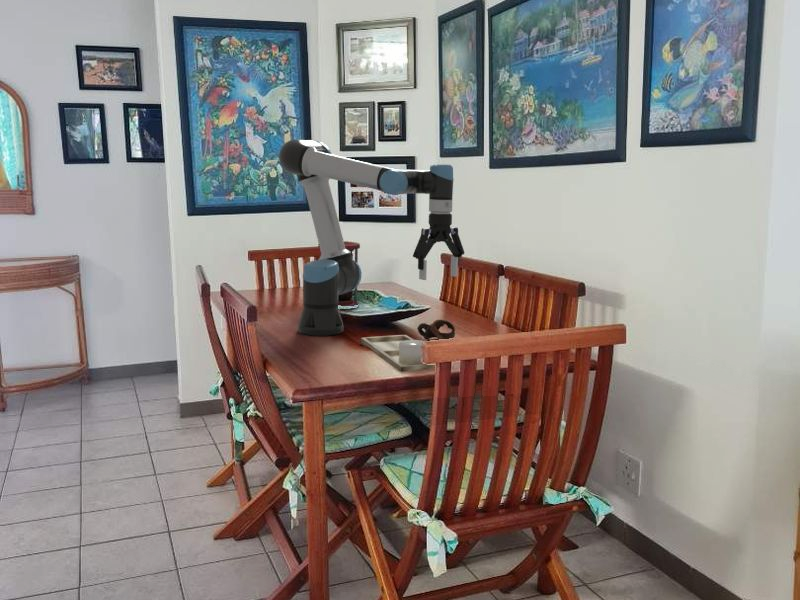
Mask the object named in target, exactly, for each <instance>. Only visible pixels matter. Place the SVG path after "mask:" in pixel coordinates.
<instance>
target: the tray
mask: <svg viewBox="0 0 800 600" xmlns="http://www.w3.org/2000/svg"><path fill="white" fill-rule="evenodd" d="M405 340H415V339H414V338H412V337H410V336H408V335H407V334H398V335H397V334H396V335H395V334H394V335H382V336H381V335H380V336H379V335H378V336H367V337H360V344H361V345H362V346H363V347H368V348H369V349H370V350H371V351H373V352H374V353H376V354H377V355H378V356H380V357H381V358H383V360H385V361H387V362H388V363H389V364H390V365H392V366H393V367H394V368H396V369H398V370H399V371H400V372H413V371H414V372H415V371H424V370H435V369H434V368H435V365H427V364H419V365H408V364H403V363H401V362H399V343H400V342H401V341H405Z"/></svg>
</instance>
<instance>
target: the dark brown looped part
mask: <svg viewBox="0 0 800 600" xmlns="http://www.w3.org/2000/svg"><path fill="white" fill-rule="evenodd" d="M445 326H446V327H447V329H450V330H451V332H441V331H440V328H442V327H445ZM417 331H418V334H419V335H420V336H422V337H423V338H424V341H427V339H428V340H430V339H432V338H436V341H437V340H439V339H449V338H453V339H455V336H456V328H455V326H454V324H452V322H450V321H448V320H445V319H436V320H434V321H433V323H431V324H428V323H426V322H424V323H423V322H422V323H420V324H418V326H417Z"/></svg>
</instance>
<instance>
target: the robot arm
mask: <svg viewBox="0 0 800 600" xmlns="http://www.w3.org/2000/svg"><path fill="white" fill-rule="evenodd" d="M278 160H279V164H280V166H281V167H282V168H283V170H284V171H286V172H287V173H288V174H291V175H296V178H297V182H298V184H299V185H300V186H302V187H303V188H304V191H305V195H306V199H307V203H308V206H309V207H308V208H309V211H310V215H311V219H312V222H313V225H314V230H315V233H316V239H317V242H318V243H319V246H320V248H319V249H320V257H319V258H318V259H317V260H316V259H315V260H311V261H308V262H306V263H305V264H304V265H303V269H302V271H303V273H302V287H303V288H302V293H303V294H302V300H303V304H302V306H303V307H302V308H303V309H302V311H301V314H300V317H299V321H298V324H297V331H298V333H300V334H302V335H306V336H315V337H319V336H320V337H325V336H326V337H327V336H336V335H338V334H341V333H343V332H344V323H343V320H342V315H341V313H340V310H339V309H338V295H341V294H345V293H349V292H351V291H352V292H353V291H354V289H355V288H356V287H357V288H358V286H359V285H360V283H361V281H362V269H361V266H360V265H359V263H357V262H355V259H354V257H353V258H352V254H351V252H350V251H348V250H347V249H346V248H345V245H344V242H345V241H344V237H343V233H342V230H341V225H340V221H339V217H338V213H337V209H336V205H335V203H334V198H333V194H332V190H331V186H330V182H329V181H330V180H335V181H339V182H343V183H348V184H352V185H356V186H360V187H365V188H368V189H372V190H377V191H381V192H384V193H385V194H387V195H391V196H398V195H408V194H409V195H410V194H416V195H417V194H418V195H419V194H425V195H429V198H428V211H429V214H428V224H429V228H425V227H423V228H421V232H420V237H419V240H417V244H416V246H415V249H414V251H413V255H412V257H413V258H415V259H417V269H418V279H419V280H422V281H427V265H428V264H427V263H428V260H427V259H426V257H428V255H429V253H430V251H431V250H432V248H433V246H434V245H435V244H436V243H441V242H444V244H445V245H446V246H447V248H448V249H449V251H450V253H451V254H452V256H450V277H454V278H455V277H456V278H457V277H458V274H459V273H458V272H459V270H458V269H459V267H460V258H462V256H463V255H465V250H464V247H463V244H462V241H461V239H460V235H459V227H455V226H452V224H453V214H451V213H452V212H453V193H454V179H455V178H454V168H453V166H452V165H451V164H436V163H435V164H430V166H429V169H428V170H423V169H422V170H421V169H420V170H419V169H395V168H391V167H386V166H383V165H379V164H374V163H370V162H365V161H360V160H355V159H352V158H347V157H344V156H338V155H335V154H332V152H331V150H330V148H329V147H328V146H327V145H326V144H325V143H323V142H321V141H318V140H314V139H306V140H305V139H291V140H288V141H287V142H285V143H284V144H283V145H282V146H281V148H280V150H279V152H278Z"/></svg>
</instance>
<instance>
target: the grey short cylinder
mask: <svg viewBox="0 0 800 600" xmlns="http://www.w3.org/2000/svg"><path fill="white" fill-rule="evenodd" d="M424 341H425V340H420V339H414V340H405V341H401V342H400V343H399V362H401V363H403V364H408V365H419V364H423V363H422V362H421V358H422V354H421V346H422V343H423V342H424Z"/></svg>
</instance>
